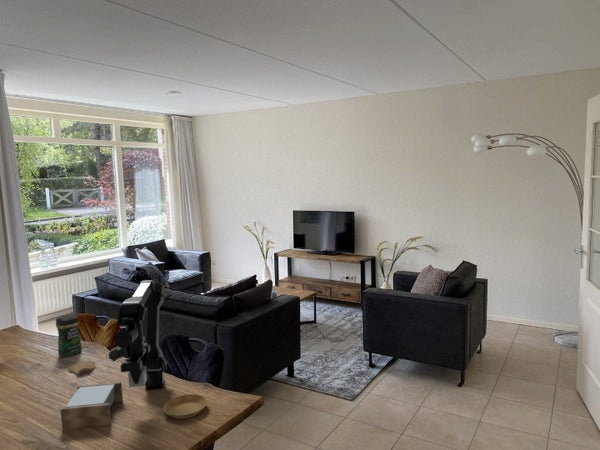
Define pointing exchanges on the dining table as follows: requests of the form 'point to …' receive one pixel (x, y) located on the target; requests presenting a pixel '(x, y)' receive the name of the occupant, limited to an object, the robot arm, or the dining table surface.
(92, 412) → the frame
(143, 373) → the grey cube
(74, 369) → the pottery shard
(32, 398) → the dining table surface
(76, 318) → the coffee jar
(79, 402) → the trapdoor
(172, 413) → the plant saucer
